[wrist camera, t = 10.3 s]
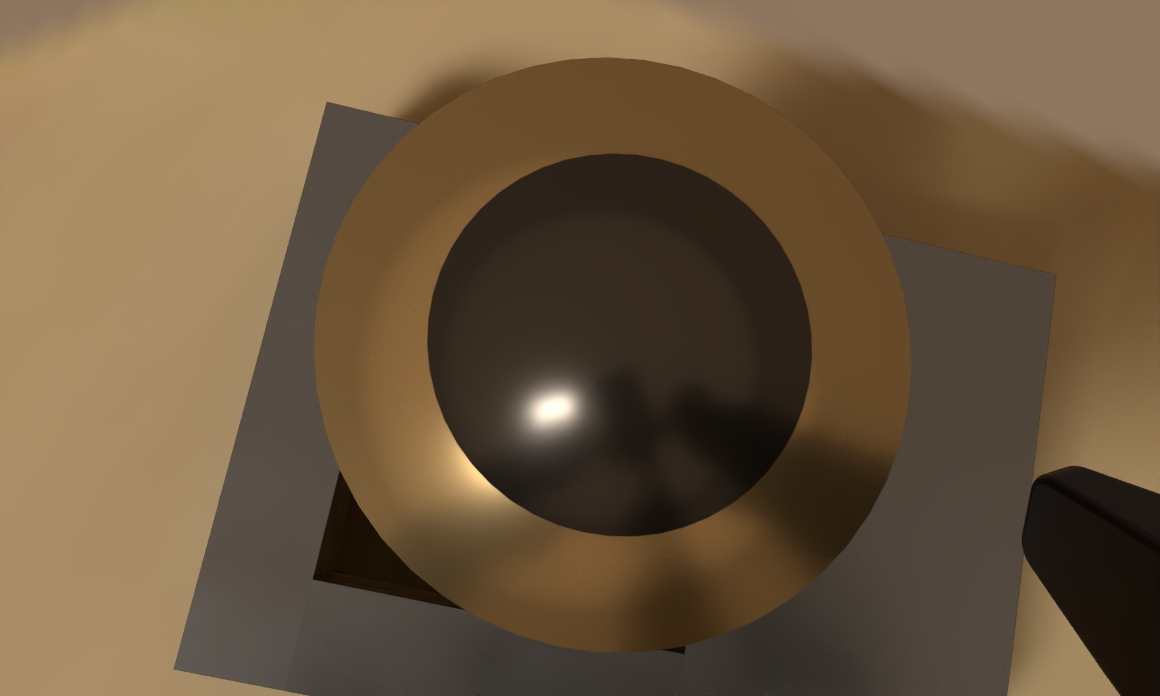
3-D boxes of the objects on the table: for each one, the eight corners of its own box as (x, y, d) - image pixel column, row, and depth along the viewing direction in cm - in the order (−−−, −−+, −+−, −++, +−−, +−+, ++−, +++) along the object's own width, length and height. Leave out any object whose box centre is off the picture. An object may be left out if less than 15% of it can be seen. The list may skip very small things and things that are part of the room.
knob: (697, 464, 21) (1030, 380, 9) (510, 628, 20) (590, 793, 8) (542, 280, 21) (652, -53, 9) (350, 433, 20) (181, 293, 8)
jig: (977, 307, 22) (1055, 274, 19) (915, 783, 20) (991, 826, 17) (345, 160, 21) (327, 101, 18) (217, 647, 19) (173, 669, 16)
